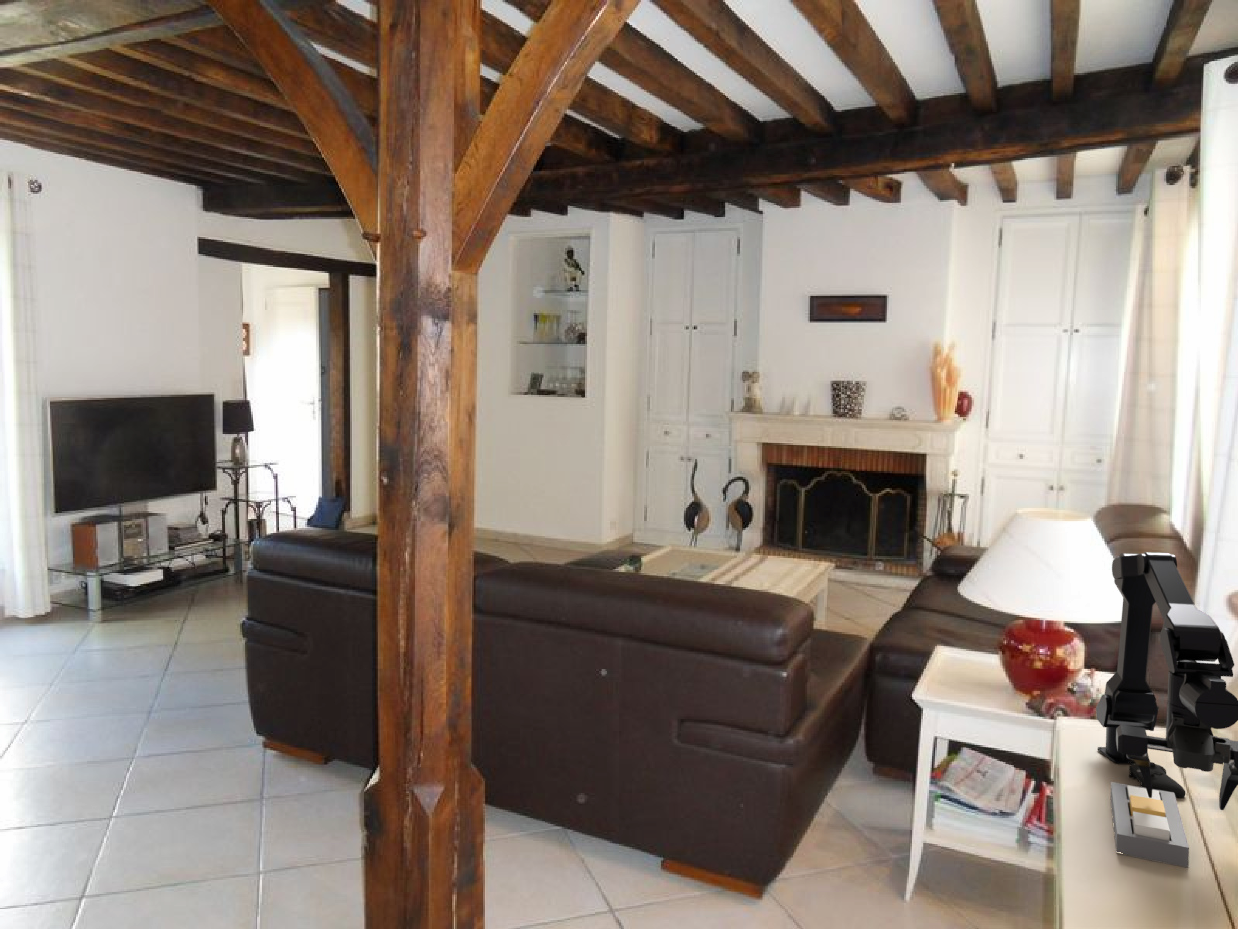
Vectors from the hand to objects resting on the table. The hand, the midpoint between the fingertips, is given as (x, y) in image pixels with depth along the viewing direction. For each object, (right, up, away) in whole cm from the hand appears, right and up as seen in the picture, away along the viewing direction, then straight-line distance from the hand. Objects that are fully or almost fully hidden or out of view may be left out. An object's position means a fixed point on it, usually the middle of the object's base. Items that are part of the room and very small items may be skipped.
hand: (1185, 802), depth 133 cm
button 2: (-7, -4, -3) cm, 8 cm away
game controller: (+6, -5, +18) cm, 20 cm away
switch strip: (-4, -5, +3) cm, 7 cm away
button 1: (-2, -4, +8) cm, 9 cm away
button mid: (-4, -3, +2) cm, 6 cm away
